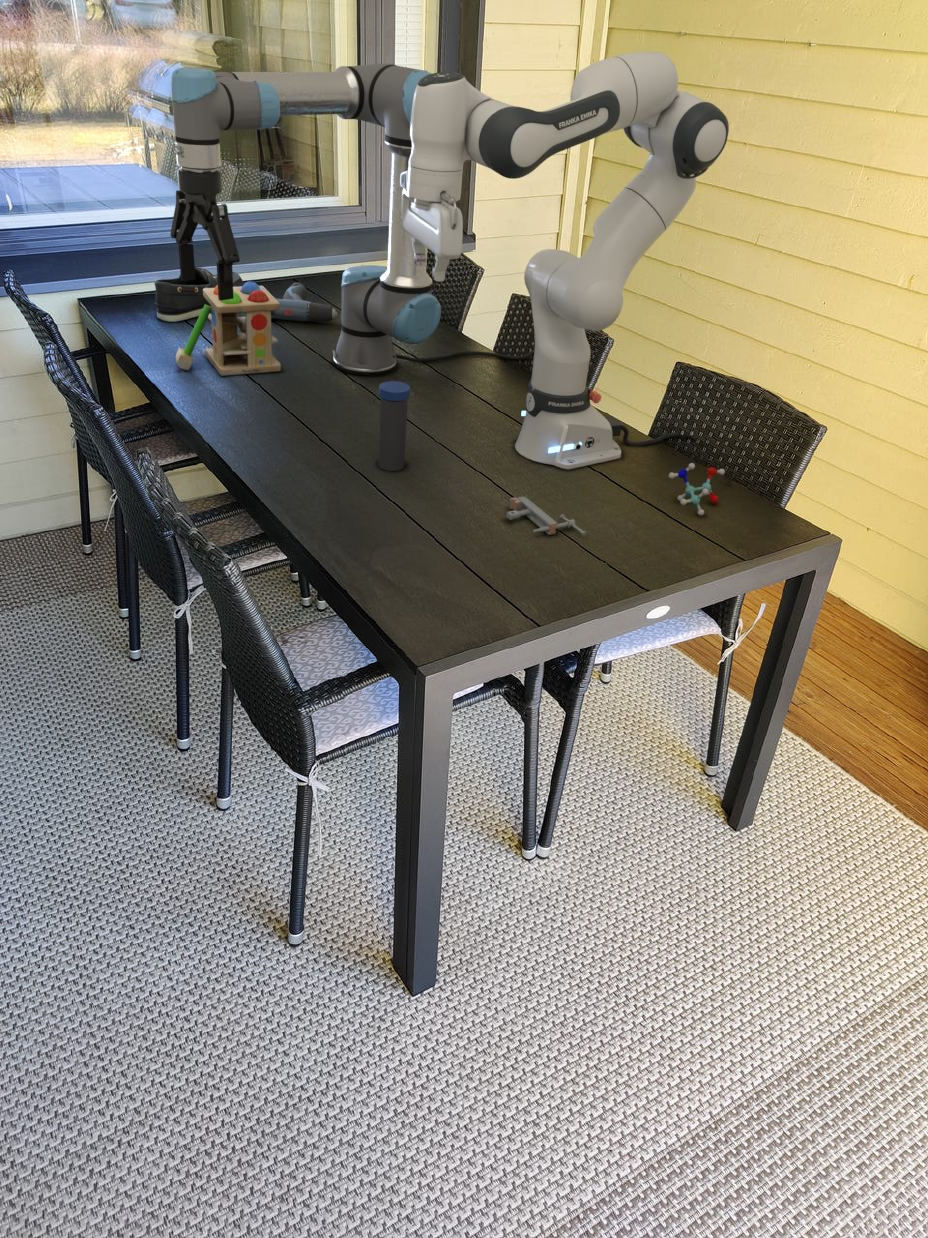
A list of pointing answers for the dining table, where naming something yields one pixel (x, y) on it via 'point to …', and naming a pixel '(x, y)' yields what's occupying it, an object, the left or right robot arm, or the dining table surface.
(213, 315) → the pounding bench toy
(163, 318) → the boat shoe
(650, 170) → the right robot arm
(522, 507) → the clamp
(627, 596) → the dining table surface
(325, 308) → the power drill
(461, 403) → the dining table surface
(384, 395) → the lid
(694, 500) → the molecular model
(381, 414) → the jar
